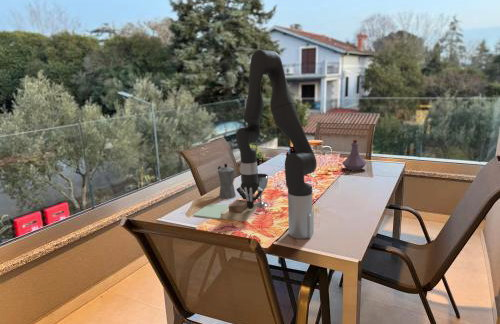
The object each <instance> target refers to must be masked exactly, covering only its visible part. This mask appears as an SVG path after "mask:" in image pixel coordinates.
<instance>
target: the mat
mask: <svg viewBox="0 0 500 324" xmlns="http://www.w3.org/2000/svg"><path fill="white" fill-rule="evenodd" d="M229 205H230V204H222V203H221V204H220V203H219V204H218V203H209V204H208V203H207V205H205V206H204V207H202V208H201V209H200V210H198V211H196V212H195V213H194V214H192V215H193V217H199V218H204V219H205V218H206V219H212V220H213V219H214V220H221V213H222V212H223V211H224V210H226V209H227V208H228V207H229Z"/></svg>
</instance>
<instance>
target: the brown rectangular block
mask: <svg viewBox="0 0 500 324" xmlns="http://www.w3.org/2000/svg"><path fill="white" fill-rule="evenodd" d="M228 205H229V212H232V213H242V212H243V211H244V210H246V209H247V208H248V207H247V200H245V199H235V200H234V201H233V202H232V203H230V204H228Z"/></svg>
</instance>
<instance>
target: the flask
mask: <svg viewBox="0 0 500 324" xmlns="http://www.w3.org/2000/svg"><path fill="white" fill-rule="evenodd" d="M350 145H351V151H350V154H349V155H348V157H346V159H345V160H344V161H343V162H341V164H342V165H343V166H344V167H345V169H346V170H348V171H350V170H354V171H353V172H358V171H357V170H360V171H361V170H363V168H364V167H365V166H366V165H367V163H368V162H367V161H366V160H365V159H364V158H363V157H362V156H361V154H360V152H359V143H358V139H353V140H352V143H351V144H350Z"/></svg>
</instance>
